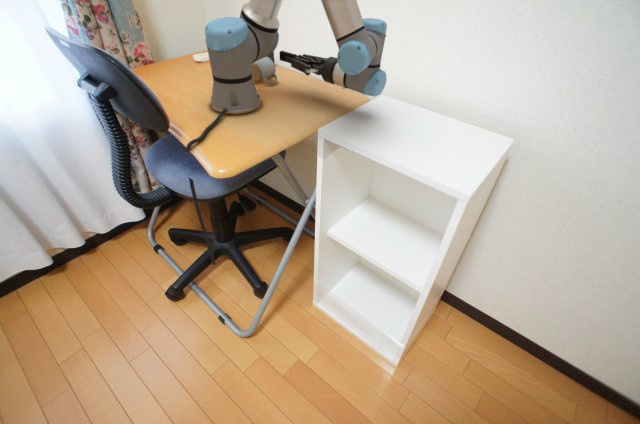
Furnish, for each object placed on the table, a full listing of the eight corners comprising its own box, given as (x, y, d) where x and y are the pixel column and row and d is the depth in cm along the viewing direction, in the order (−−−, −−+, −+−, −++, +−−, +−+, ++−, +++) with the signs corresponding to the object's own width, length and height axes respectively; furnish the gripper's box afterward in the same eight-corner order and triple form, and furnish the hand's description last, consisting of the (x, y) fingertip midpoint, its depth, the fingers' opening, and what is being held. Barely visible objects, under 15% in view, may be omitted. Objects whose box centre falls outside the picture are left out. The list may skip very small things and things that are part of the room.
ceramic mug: (246, 81, 115) (244, 59, 110) (261, 75, 121) (259, 54, 115) (268, 88, 111) (267, 66, 106) (282, 82, 117) (282, 60, 112)
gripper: (325, 89, 95) (268, 71, 104) (347, 79, 103) (293, 62, 112) (327, 64, 90) (267, 46, 99) (350, 55, 98) (293, 40, 107)
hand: (281, 55), depth 106 cm, fingers closed
